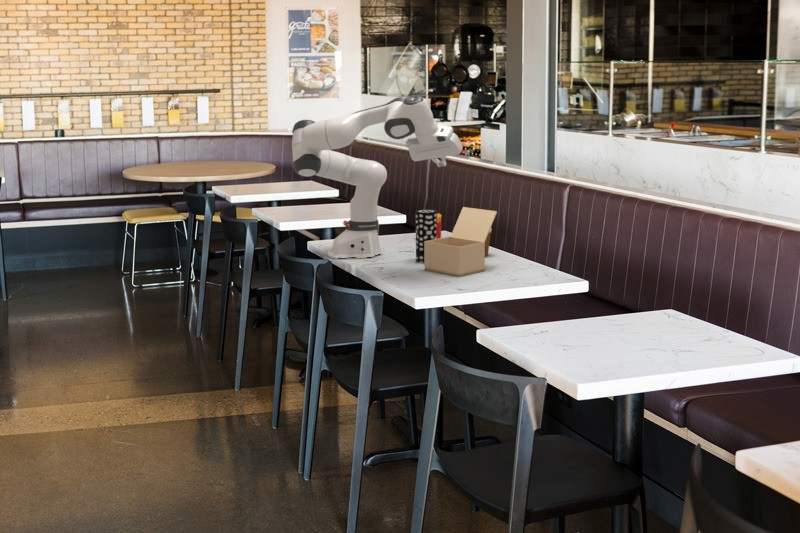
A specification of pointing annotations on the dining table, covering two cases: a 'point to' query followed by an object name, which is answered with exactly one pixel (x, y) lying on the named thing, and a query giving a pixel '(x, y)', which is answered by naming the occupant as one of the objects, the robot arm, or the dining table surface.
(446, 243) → the carton
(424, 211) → the white-spotted black cylinder
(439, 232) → the french fries
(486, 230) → the carton flap
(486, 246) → the disposable coffee cup
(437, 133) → the robot arm
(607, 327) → the dining table surface
